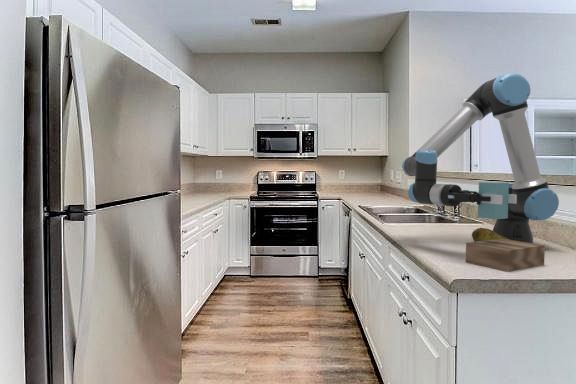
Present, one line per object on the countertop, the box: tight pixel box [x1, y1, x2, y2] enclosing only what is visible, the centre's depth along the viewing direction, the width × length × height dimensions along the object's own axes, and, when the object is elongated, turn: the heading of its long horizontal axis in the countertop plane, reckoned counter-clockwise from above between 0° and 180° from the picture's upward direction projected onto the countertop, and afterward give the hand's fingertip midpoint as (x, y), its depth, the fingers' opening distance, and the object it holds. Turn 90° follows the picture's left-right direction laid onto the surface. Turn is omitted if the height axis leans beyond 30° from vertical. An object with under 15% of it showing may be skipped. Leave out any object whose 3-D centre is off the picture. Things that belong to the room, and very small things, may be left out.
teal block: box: [477, 181, 510, 220], centre depth 134 cm, size 6×6×11 cm
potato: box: [471, 227, 509, 242], centre depth 153 cm, size 8×13×8 cm, turn 52°
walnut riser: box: [465, 239, 546, 272], centre depth 133 cm, size 18×14×6 cm
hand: (508, 199), depth 130 cm, fingers closed on teal block, 6 cm apart
